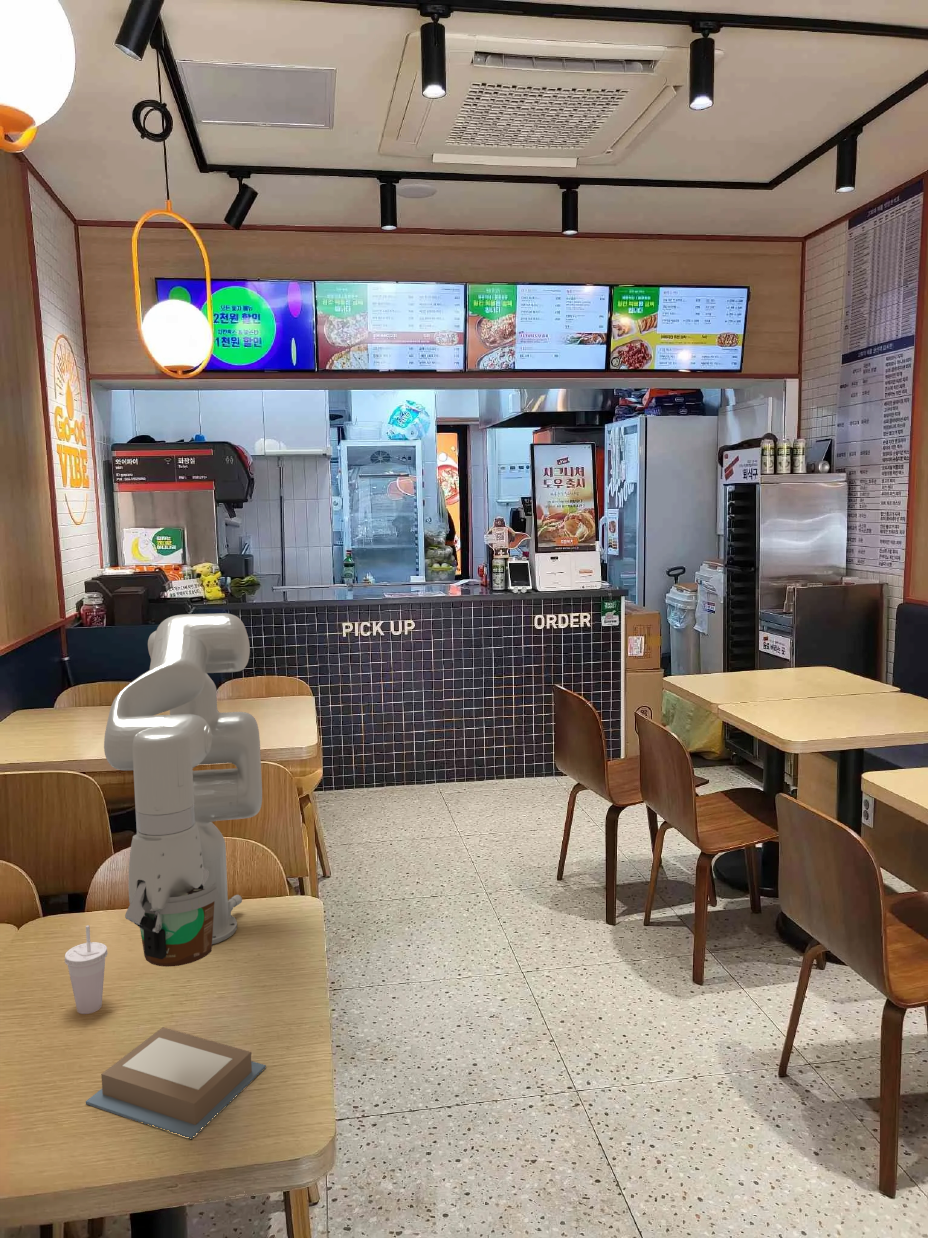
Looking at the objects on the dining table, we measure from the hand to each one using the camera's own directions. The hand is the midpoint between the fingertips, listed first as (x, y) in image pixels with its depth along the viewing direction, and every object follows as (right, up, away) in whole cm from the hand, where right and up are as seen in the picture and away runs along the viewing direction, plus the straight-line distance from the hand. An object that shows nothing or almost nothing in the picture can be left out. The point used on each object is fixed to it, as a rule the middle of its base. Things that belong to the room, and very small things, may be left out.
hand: (171, 944), depth 121 cm
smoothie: (-21, -19, +22) cm, 36 cm away
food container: (0, -2, -1) cm, 2 cm away
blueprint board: (0, -21, +2) cm, 21 cm away
